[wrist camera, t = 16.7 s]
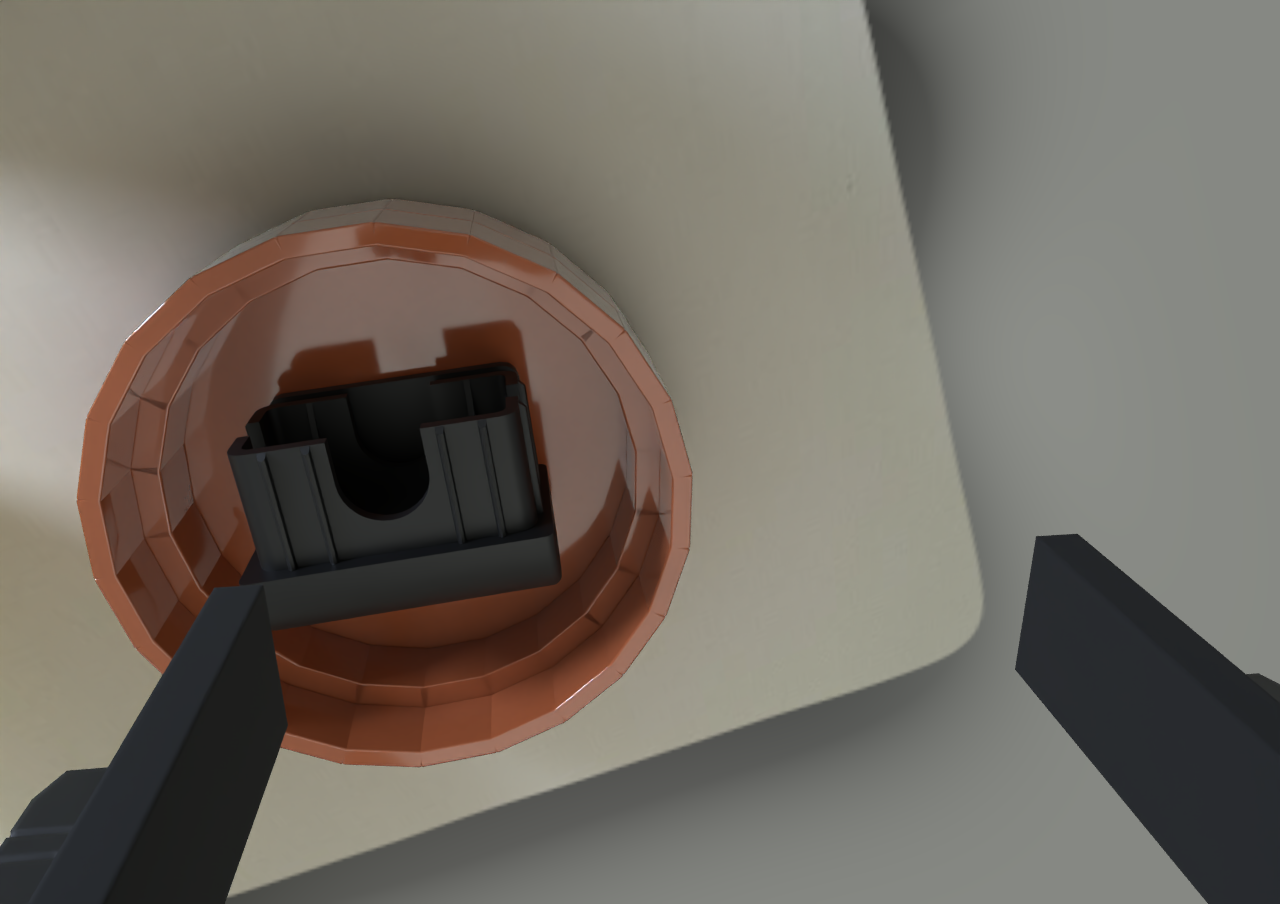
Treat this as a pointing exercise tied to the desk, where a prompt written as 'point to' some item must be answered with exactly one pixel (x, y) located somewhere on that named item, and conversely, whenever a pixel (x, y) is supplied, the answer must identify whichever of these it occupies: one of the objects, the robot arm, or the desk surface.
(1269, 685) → the robot arm
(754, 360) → the desk surface
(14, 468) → the desk surface
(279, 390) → the ceramic bowl
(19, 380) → the desk surface
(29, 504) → the desk surface
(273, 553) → the end cap
